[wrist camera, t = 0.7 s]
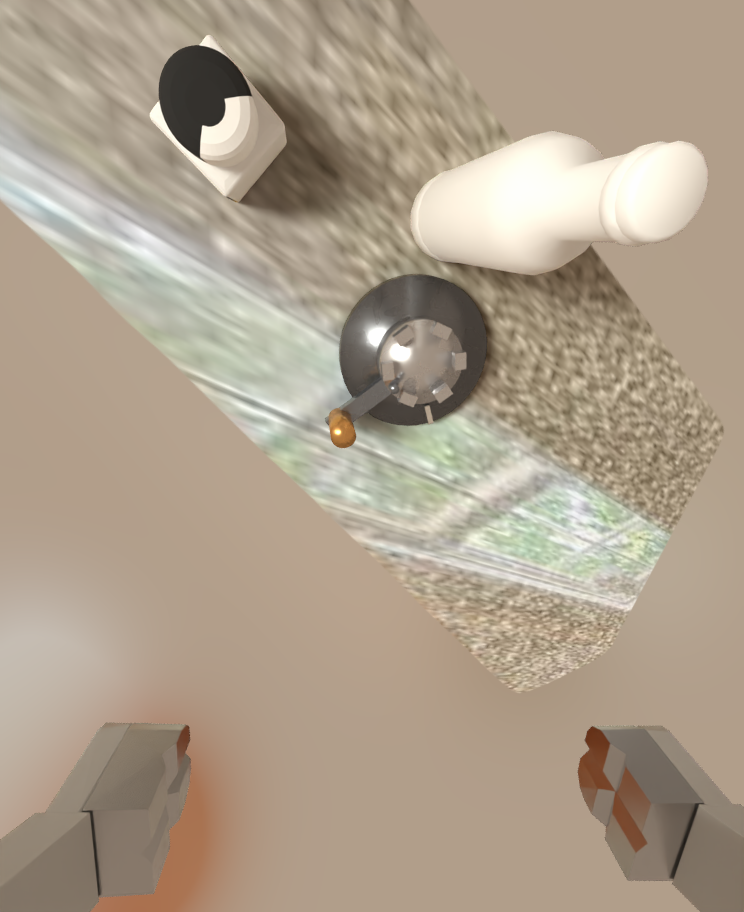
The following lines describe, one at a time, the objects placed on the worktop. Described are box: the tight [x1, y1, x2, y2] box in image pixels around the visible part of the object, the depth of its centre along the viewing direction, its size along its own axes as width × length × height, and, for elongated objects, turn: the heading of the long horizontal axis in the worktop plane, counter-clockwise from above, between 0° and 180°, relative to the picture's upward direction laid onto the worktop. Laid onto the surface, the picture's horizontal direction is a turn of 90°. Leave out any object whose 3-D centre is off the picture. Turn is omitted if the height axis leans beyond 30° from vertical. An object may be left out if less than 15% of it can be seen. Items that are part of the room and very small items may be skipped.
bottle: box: [411, 131, 708, 275], centre depth 31 cm, size 8×8×30 cm
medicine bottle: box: [150, 35, 287, 202], centre depth 33 cm, size 7×7×12 cm
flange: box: [339, 274, 487, 425], centre depth 49 cm, size 17×17×2 cm
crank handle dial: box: [325, 316, 466, 448], centre depth 46 cm, size 17×9×6 cm, turn 126°
